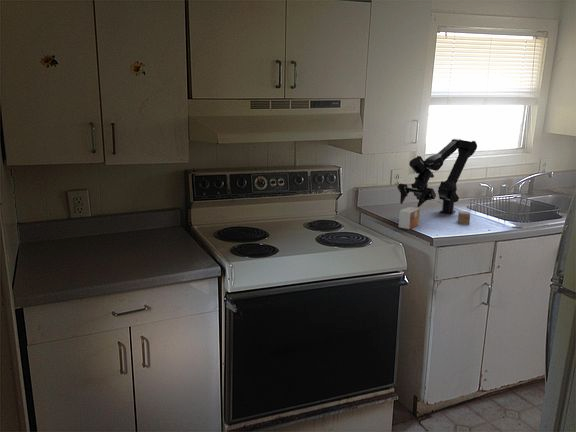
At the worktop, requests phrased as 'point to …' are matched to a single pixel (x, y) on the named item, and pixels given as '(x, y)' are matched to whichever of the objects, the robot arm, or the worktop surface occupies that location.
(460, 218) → the walnut block
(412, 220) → the small box
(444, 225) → the worktop surface
